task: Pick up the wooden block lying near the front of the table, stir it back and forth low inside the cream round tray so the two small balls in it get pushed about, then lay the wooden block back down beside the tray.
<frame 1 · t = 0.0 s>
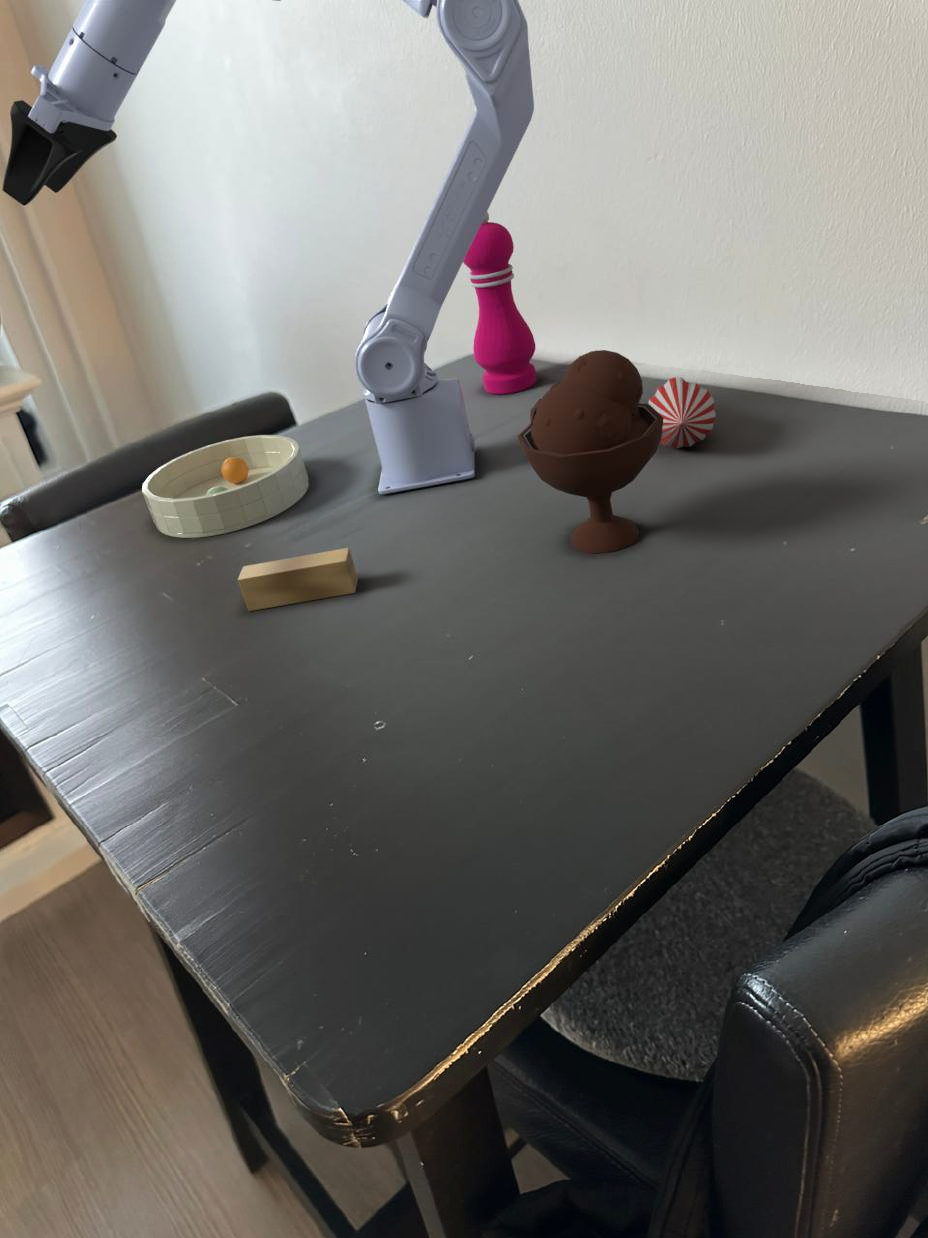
hand: (31, 191, 89), 32 cm above the table, tool tilted 50°, fingers open, 7 cm apart
wooden block: (303, 595, 84), on the table
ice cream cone: (685, 435, 98), on the table
pepper mill: (511, 386, 122), on the table
ball b: (219, 500, 102), point 2 cm above the table, touching cream round tray
cream round tray: (232, 501, 106), on the table
ball a: (234, 470, 109), point 2 cm above the table, touching cream round tray
ice cream bowl: (604, 539, 83), on the table
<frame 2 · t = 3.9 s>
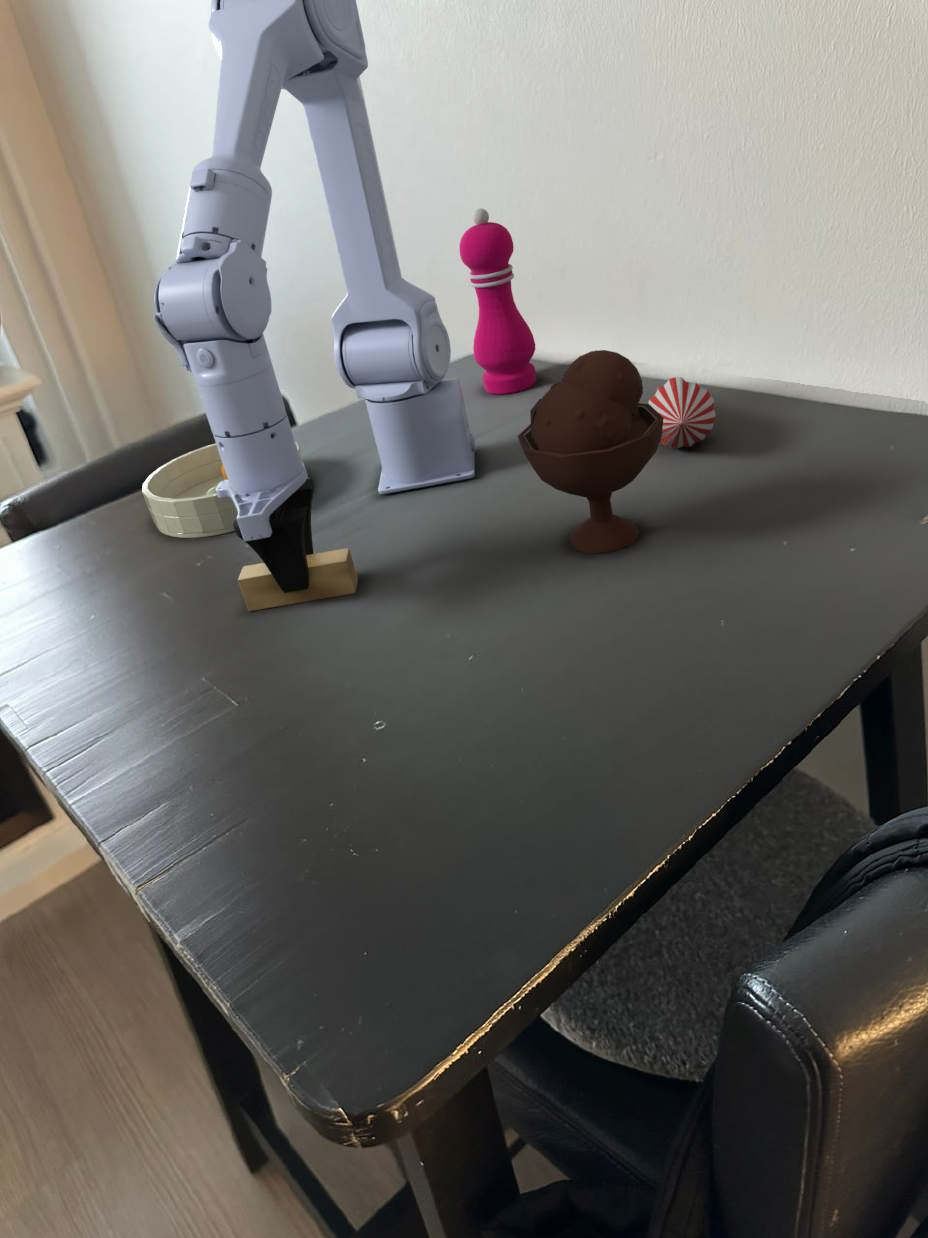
hand: (299, 580, 84), 1 cm above the table, tool pointing down, fingers closed on wooden block, 2 cm apart
wooden block: (303, 595, 84), on the table, touching gripper
everything else where it was.
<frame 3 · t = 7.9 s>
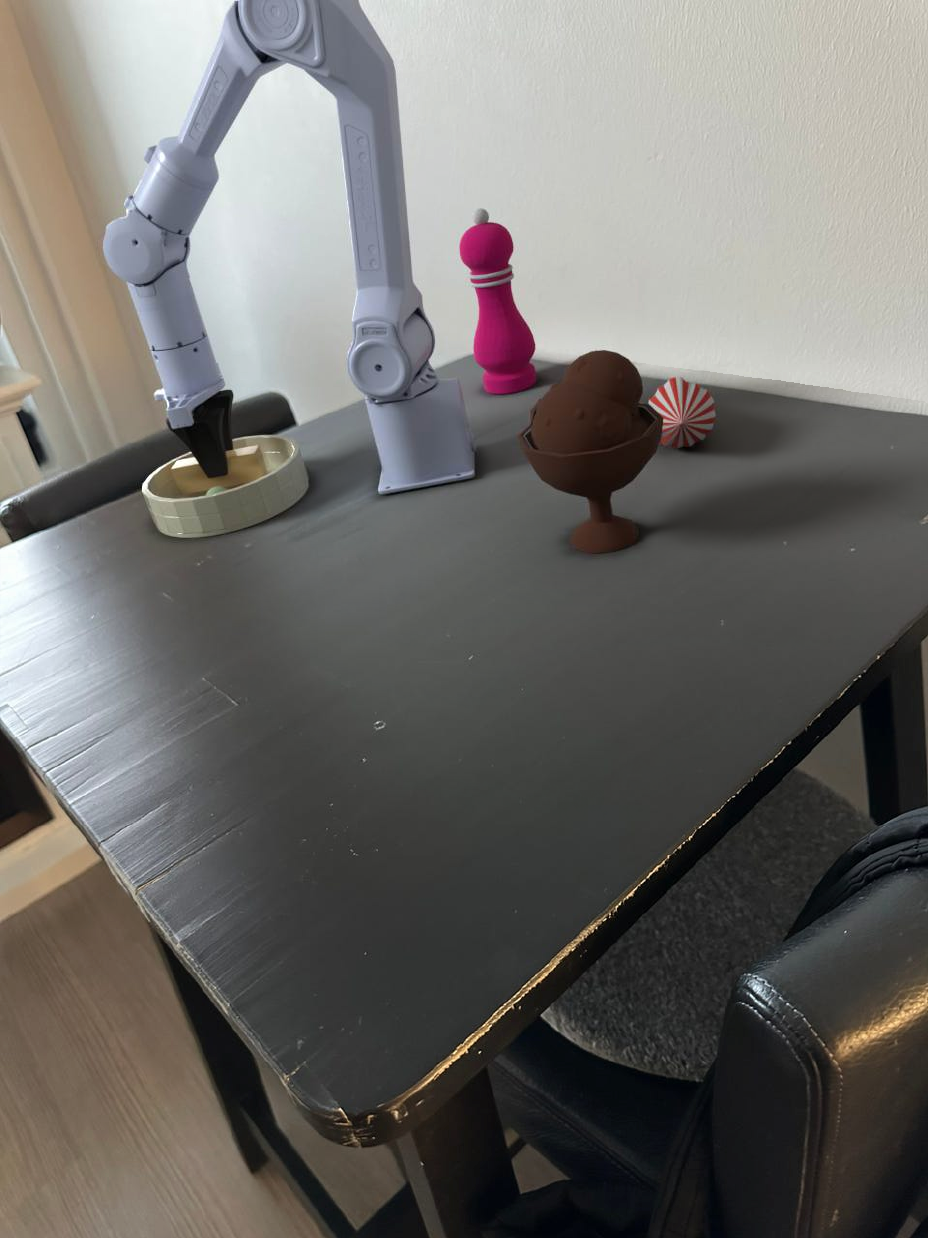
hand: (221, 469, 107), 3 cm above the table, tool pointing down, fingers closed on wooden block, 2 cm apart
wooden block: (224, 483, 107), point 1 cm above the table, touching ball a, gripper
ball a: (234, 468, 109), point 2 cm above the table, tilted 28°, touching gripper, cream round tray, wooden block
everything else where it was.
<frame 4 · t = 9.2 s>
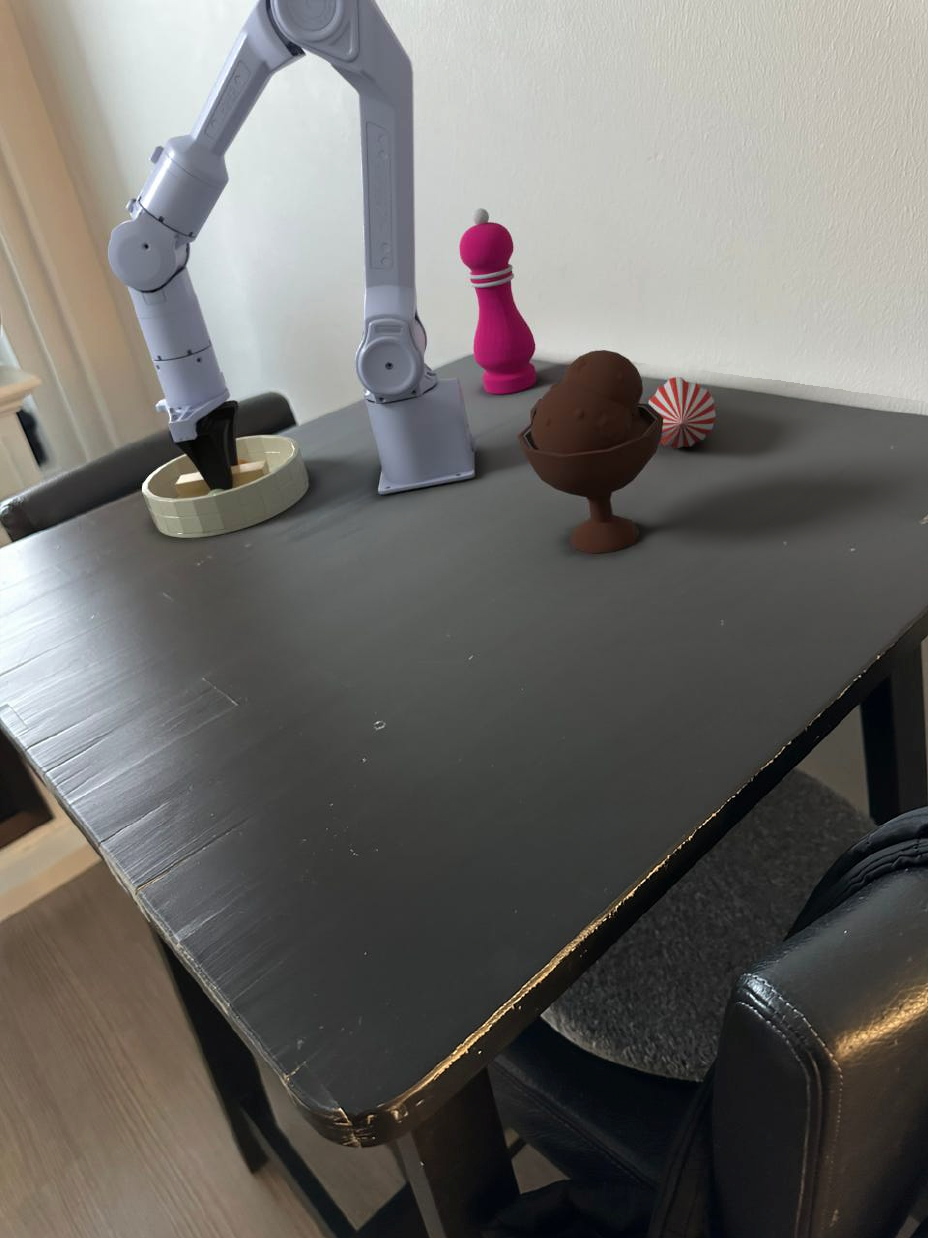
hand: (225, 483, 103), 3 cm above the table, tool pointing down, fingers closed on wooden block, 2 cm apart
wooden block: (229, 499, 104), point 1 cm above the table, touching ball b, gripper
ball b: (219, 503, 101), point 2 cm above the table, tilted 23°, touching gripper, cream round tray, wooden block
ball a: (238, 472, 108), point 2 cm above the table, tilted 45°, touching cream round tray
everything else where it was.
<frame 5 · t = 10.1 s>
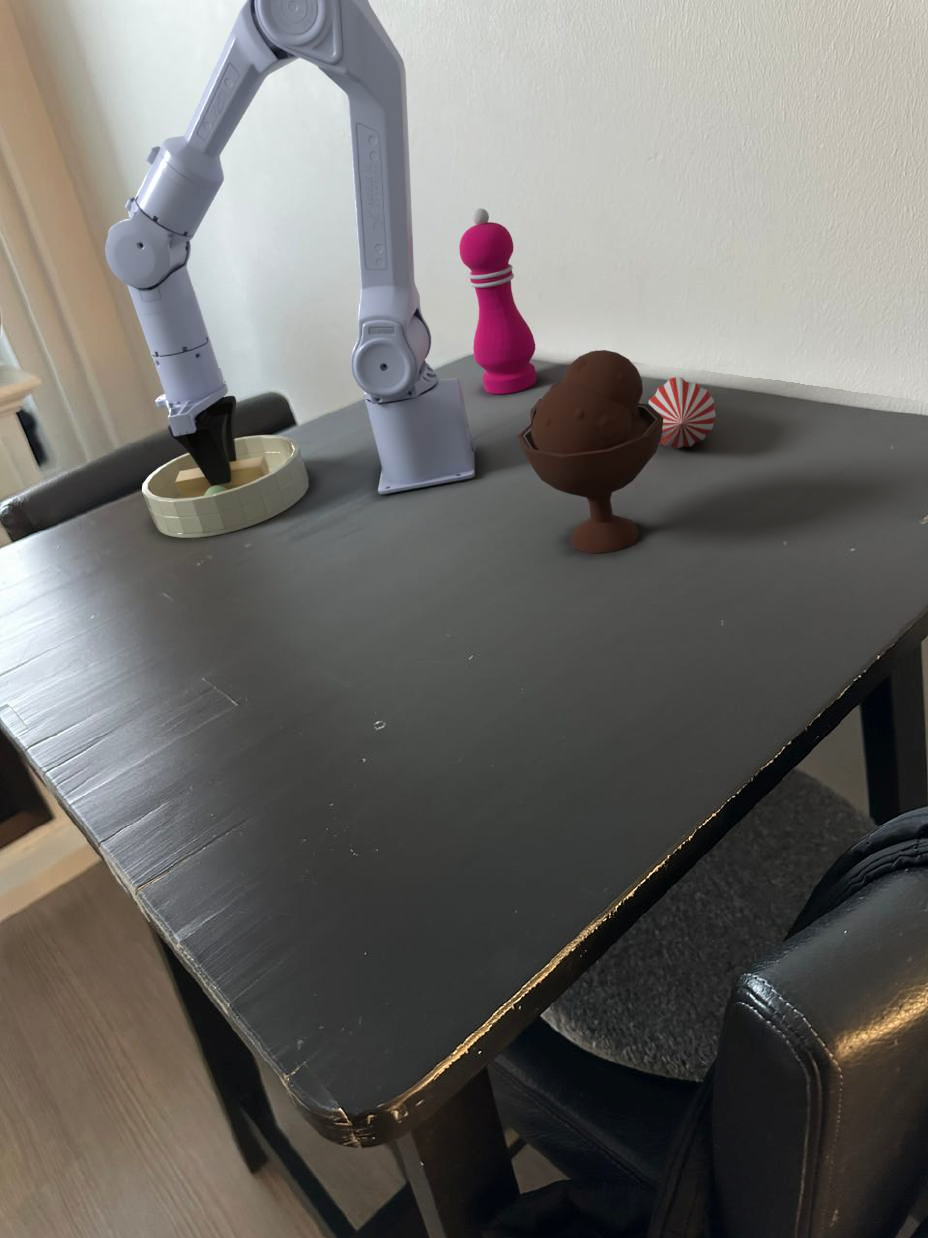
hand: (224, 477, 105), 3 cm above the table, tool pointing down, fingers closed on wooden block, 2 cm apart
wooden block: (229, 494, 106), point 1 cm above the table, touching ball a, gripper
ball b: (218, 499, 102), point 2 cm above the table, tilted 14°, touching cream round tray
ball a: (242, 473, 107), point 2 cm above the table, tilted 79°, touching gripper, cream round tray, wooden block
everything else where it was.
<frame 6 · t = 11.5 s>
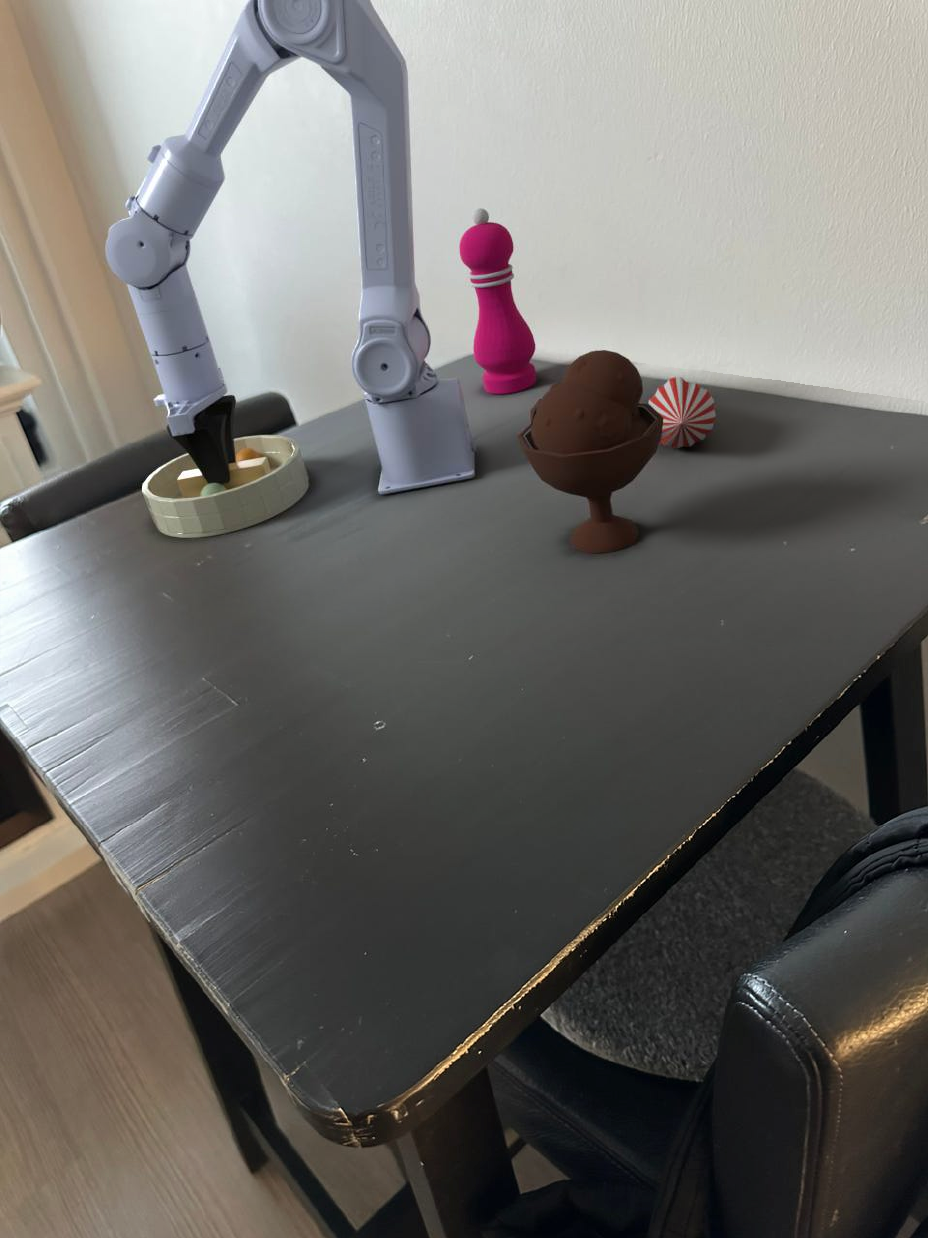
hand: (223, 477, 105), 3 cm above the table, tool pointing down, fingers closed on wooden block, 2 cm apart
wooden block: (230, 495, 106), point 1 cm above the table, touching ball b, gripper
ball b: (214, 496, 103), point 2 cm above the table, tilted 67°, touching gripper, cream round tray, wooden block
ball a: (248, 461, 110), point 2 cm above the table, tilted 31°, touching cream round tray
everything else where it was.
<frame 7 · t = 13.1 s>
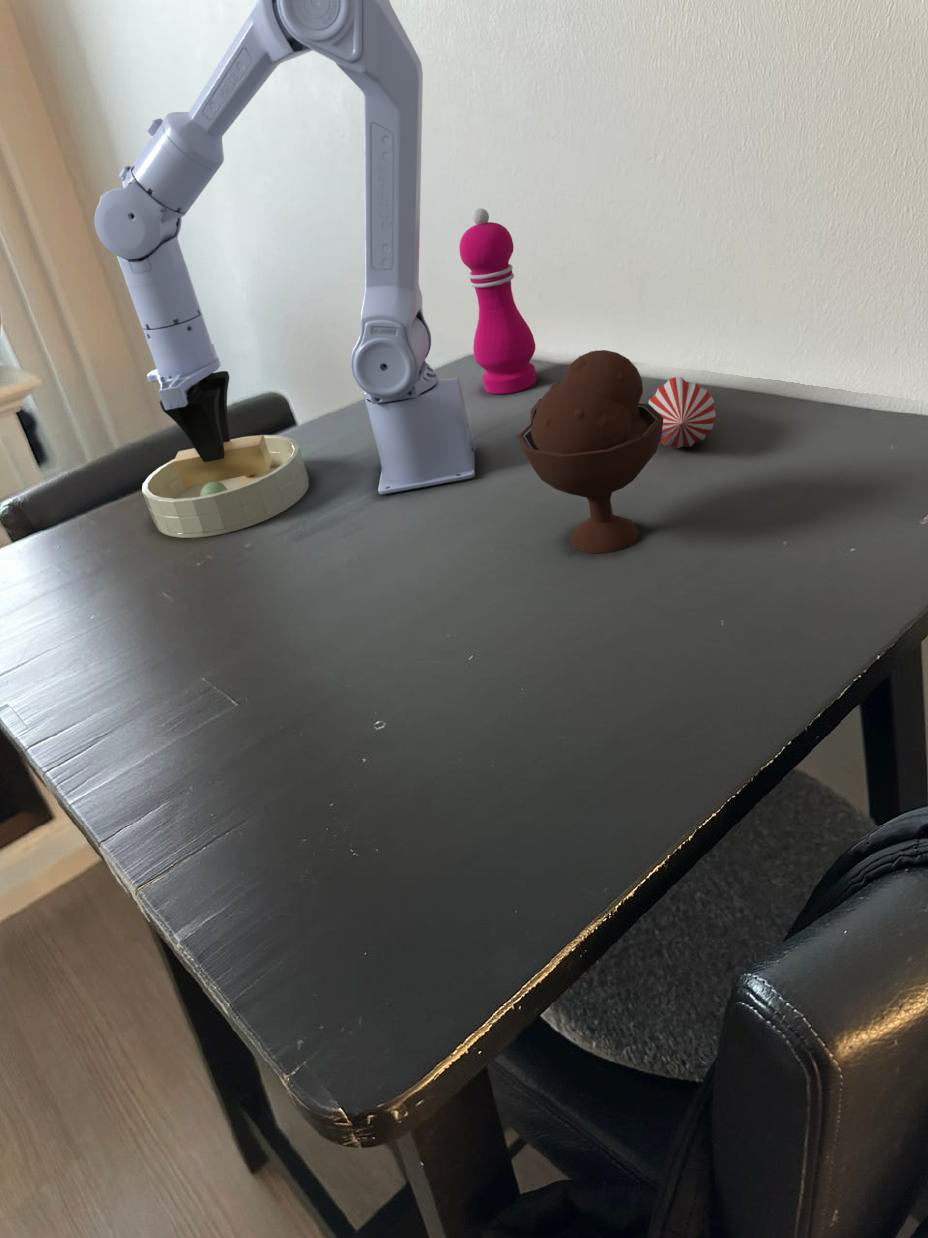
hand: (217, 453, 104), 5 cm above the table, tool pointing down, fingers closed on wooden block, 2 cm apart
wooden block: (228, 474, 105), point 3 cm above the table, touching gripper
ball b: (214, 495, 103), point 2 cm above the table, tilted 76°, touching cream round tray
ball a: (246, 463, 110), point 2 cm above the table, tilted 22°, touching cream round tray
everything else where it was.
when the fingers open (2 cm above the table, at t = 16.6 s): wooden block stays where it is, on the table.
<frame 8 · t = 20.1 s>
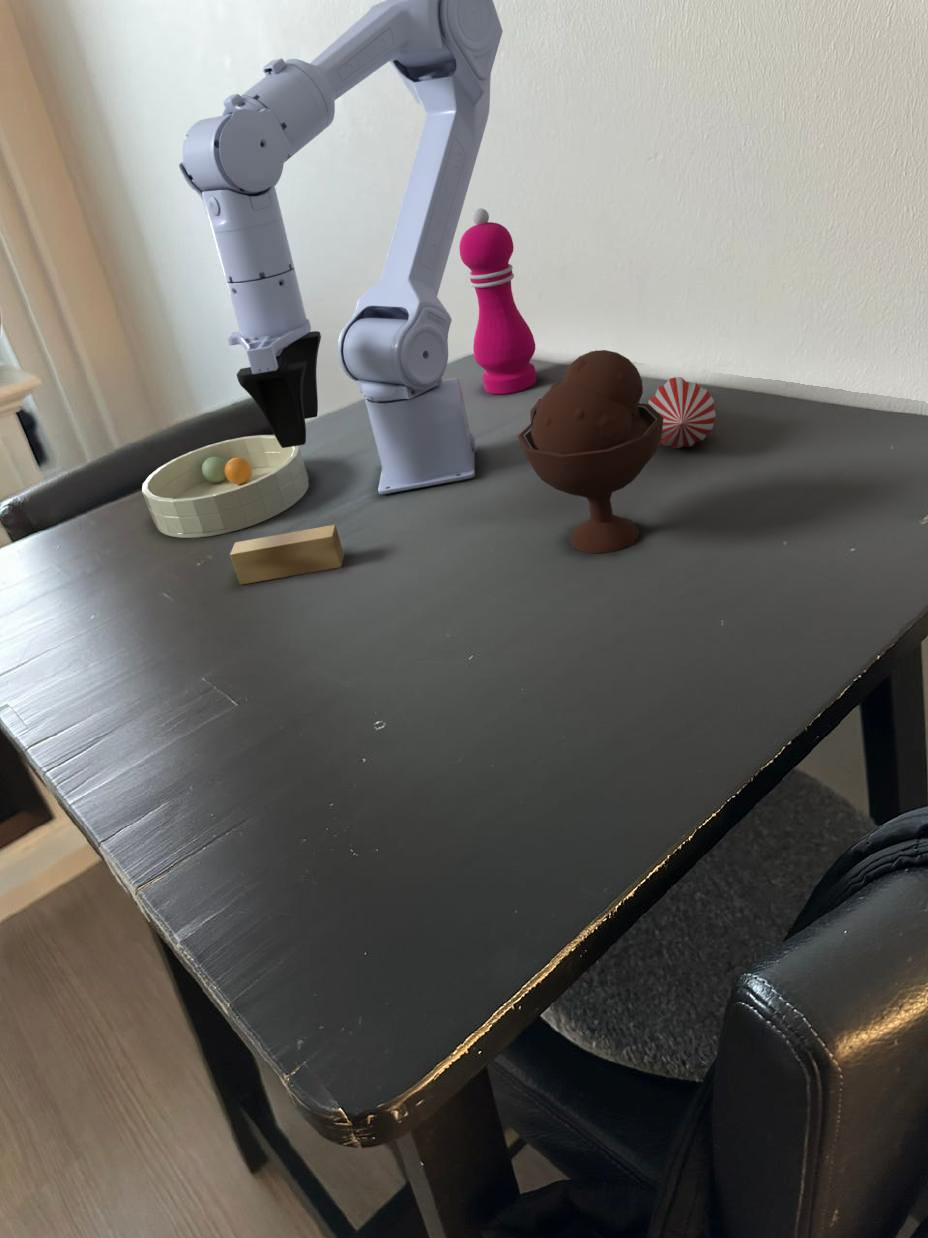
hand: (300, 430, 91), 9 cm above the table, tool pointing down, fingers open, 7 cm apart
wooden block: (292, 569, 89), on the table
ball b: (215, 469, 110), point 2 cm above the table, tilted 40°, touching cream round tray
ball a: (238, 470, 108), point 2 cm above the table, tilted 79°, touching cream round tray
everything else where it was.
at the end: ball a moved 0.6 cm from its start; wooden block inside the target area (0.4 cm from its centre), on the table; the gripper is holding nothing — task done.
